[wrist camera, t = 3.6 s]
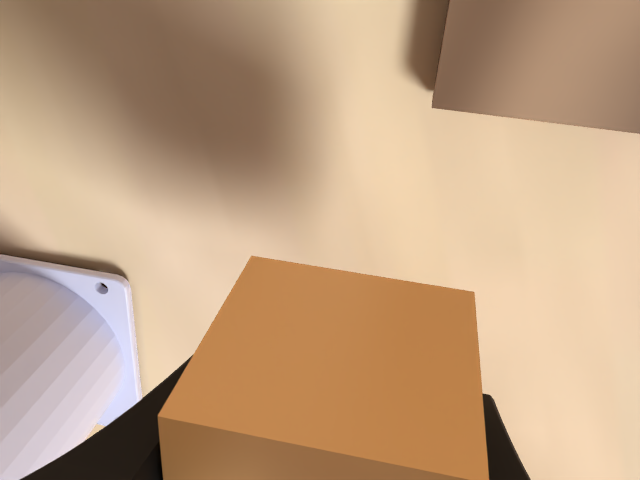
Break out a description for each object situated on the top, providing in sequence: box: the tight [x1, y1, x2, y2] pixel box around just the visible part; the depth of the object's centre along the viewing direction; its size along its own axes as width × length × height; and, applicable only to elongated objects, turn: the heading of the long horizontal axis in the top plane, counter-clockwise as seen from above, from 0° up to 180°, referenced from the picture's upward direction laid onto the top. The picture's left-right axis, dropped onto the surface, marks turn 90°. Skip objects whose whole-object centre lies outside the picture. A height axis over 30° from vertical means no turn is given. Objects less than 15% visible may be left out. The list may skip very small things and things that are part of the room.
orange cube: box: [158, 256, 489, 480], centre depth 12 cm, size 5×5×5 cm
